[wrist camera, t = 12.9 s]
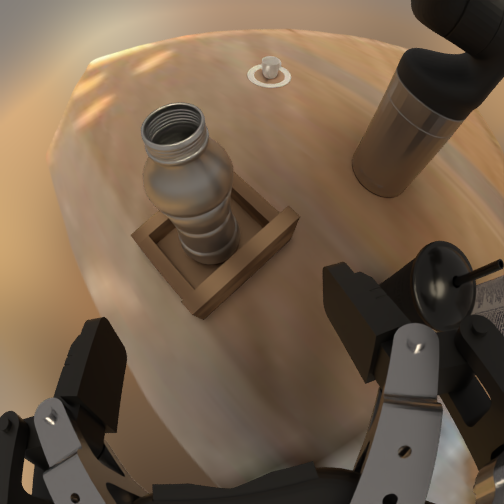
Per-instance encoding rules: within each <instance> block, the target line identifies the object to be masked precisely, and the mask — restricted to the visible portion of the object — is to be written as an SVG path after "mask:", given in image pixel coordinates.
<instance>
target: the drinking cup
mask: <svg viewBox="0 0 504 504" xmlns="http://www.w3.org/2000/svg"><path fill="white" fill-rule="evenodd" d="M503 267H504V264H503V261H502V260H501V259H499V260H497V261H494V262H492V263H490V264H488V265H485V266H483V267H481V268H478V269H476V270H474V271H473V269H472V267H471V265H470V263H469V261H468V259H467V257H466V256H465V255H464V253H463V252H462V251H461V250H460V249H459V248H457V247H456V246H455V245H453V244H451V243H449V242H445V241H435V242H432V243H430V244H428V245H426V246H425V247H424V248H422V249H421V250H420V252H419V253H418V254H417V256H416V258H414V259H413V260H412V261H411V262H409V263H408V264H407V265H405V266H404V267H403V268H402V269H400V270H399V271H398V272H396V273H395V274H394V275H392V276H391V277H390V278H388V279H387V280H385V281H384V282H383V283H381V284H380V285H379V286H380V288H381V289H383V290H384V291H385V293H386V294H387V296H389V297H390V298H391V299H392V300H393V302H394V303H395V304H396V305H397V306H398V307H399V309H400V310H401V311H402V312H403V313H404V314H405V316H406V317H407V318H408V319H409V320H410V321H411V323H419V324H423V325H426V326H428V327H430V328H431V329H434V330H436V331H440V332H444V331H450V330H456V329H458V328H459V326H460V323H461V321H462V319H463V318H464V317H466V316H468V315H471V314H472V311H473V309H474V305H475V301H476V281H475V280H476V279H478V278H481V277H483V276H486V275H489V274H491V273H494V272H496V271H499V270H501V269H503Z"/></svg>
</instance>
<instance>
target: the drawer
mask: <svg viewBox="0 0 504 504" xmlns="http://www.w3.org/2000/svg"><path fill="white" fill-rule="evenodd" d="M230 207H231V211H232V214H233V215H234V217H235V219H236V221H237V223H238V225H239V228H240V241H239V244H238V246H237V249H236V251H235V252H234V254H233V255H232V256H231V257H230V258H228V259H227V260H225V261H224V262H221V263H218V264H211V265H208V264H202V263H200V262H197V261H195V260H194V259H192V258H190V257H189V256H188V255H187V254H186V253H185V251H184V250H183V248H182V246H181V243H180V240H179V235H178V231H177V228H176V227H175V225H174V224H173V223H172V222H171V220H170V219H169V218H168V217H167V216H166V215H164V214H163V213H162V212H161V211H160V210H159V211H158V212H157V213H155V214H154V215H153V216H152V217H151V218H150V219H148V220H147V221H146V222H145V223H144V224H143V225H141V226H140V227H139V228H138V229H137V230H136V231H135V232H134V233H132V234H131V236H132V238H133V239H134V240H135V242H136V243H137V244H138V246H139V247H140V248H141V249H142V251H143V252H144V253H145V255H146V256H147V257H148V258H149V260H150V261H151V262H152V263H153V265H154V266H155V267H156V268H157V270H158V271H159V272H160V273H161V274H162V276H163V277H164V278H165V279H166V281H167V282H168V283H169V284H170V285H171V287H172V288H173V289H174V290H175V291H176V292H177V294H178V295H179V296H180V297H181V298H182V299H183V300H182V301H181V302H182V303H183V304H184V306H185V307H186V308H187V309H188V310H189V311H190V312H191V314H192V315H194V316H196V317H199V318H201V319H203V320H204V319H205V318H206V317H207V316H208V315H209V314H210V313H211V312H213V311H214V310H215V309H216V308H217V307H218V306H219V305H220V304H221V303H222V302H223V301H225V300H226V299H227V298H228V297H229V296H230V295H231V294H232V293H233V292H234V291H235V290H237V289H238V288H239V287H240V286H241V285H242V284H243V283H244V282H245V281H246V280H247V279H248V278H250V277H251V276H252V275H253V274H254V273H255V272H256V271H257V270H258V269H259V268H260V267H261V266H262V265H264V264H265V263H266V262H267V261H268V260H269V259H270V258H271V257H272V256H273V255H274V254H275V253H276V252H277V251H279V250H280V249H281V248H282V247H283V246H284V245H285V244H286V243H287V242H288V241H289V240H290V239H291V237H292V235H293V232H294V230H295V227H296V225H297V223H298V220H299V218H300V216H299V215H298V214H297V213H296V212H295V211H294V210H293V209H292V208H290V207H289V206H288V207H286V208H285V209H284V210H283V211H282V212H281V213H279V212H278V211H277V210H276V209H275V208H274V207H273V206H271V205H270V204H269V203H268V202H267V201H266V200H265V199H264V198H263V197H262V196H261V195H259V194H258V193H257V192H256V191H255V190H254V189H253V188H252V187H251V186H249V185H248V184H247V183H246V182H245V181H244V180H243V179H242V178H240V177H239V176H238V175H237V174H236V173H235V172H234V171H233V184H232V190H231V196H230Z"/></svg>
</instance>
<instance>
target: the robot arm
mask: <svg viewBox="0 0 504 504" xmlns="http://www.w3.org/2000/svg"><path fill="white" fill-rule="evenodd" d="M411 7H412V11H413V13H414V15H415V17H416V18H417V19H418V20H419V21H420V22H421V23H422V24H424V25H425V26H426V27H428V28H429V29H431V30H432V31H434V32H435V33H437V34H439V35H440V36H442V37H444V38H445V39H447V40H448V41H450V42H452V43H453V44H455V45H456V46H458V47H459V48H461V49H462V50H464V51H465V53H463V54H444V53H440V52H435V51H431V50H427V49H422V48H412V49H409V50H407V51H406V52H405V53H404V54H403V56H402V58H401V60H400V62H399V64H398V66H397V69H396V71H395V73H394V75H393V77H392V79H391V81H390V83H389V86H388V88H387V90H386V92H385V94H384V96H383V98H382V100H381V102H380V104H379V107H378V109H377V111H376V113H375V115H374V117H373V119H372V121H371V123H370V125H369V127H368V129H367V131H366V132H365V134H364V136H363V138H362V140H361V142H360V144H359V146H358V148H357V150H356V152H355V154H354V155H353V159H352V166H353V170H354V173H355V175H356V177H357V178H358V180H359V181H360V182H361V183H362V185H363V186H364V187H366V188H367V189H368V190H369V191H371V192H373V193H374V194H376V195H379V196H382V197H395V196H398V195H399V194H401V193H402V192H403V191H404V190H405V189H406V188H407V186H408V185H409V184H410V183H411V182H412V181H413V180H414V179H415V178H416V177H417V176H418V174H419V173H420V172H421V171H422V170H423V169H424V168H425V167H426V165H427V164H428V163H429V162H430V161H431V160H432V159H433V158H434V156H435V155H436V154H437V153H438V152H439V151H440V149H441V148H442V147H443V146H444V145H445V143H446V142H447V141H448V140H449V139H450V137H451V136H452V135H453V134H454V132H455V131H456V130H457V129H458V128H459V126H460V125H461V124H462V123H463V121H464V120H465V119H466V118H467V116H468V115H469V114H470V113H471V112H472V111H473V110H474V109H476V108H477V107H478V106H480V105H481V104H482V102H483V101H484V100H485V99H486V98H487V96H488V95H489V94H490V93H491V91H492V90H493V89H494V88H495V87H496V85H497V84H498V83H499V82H500V81H501V80H502V78H503V77H504V0H411ZM323 303H324V308H325V312H326V314H327V317H328V318H329V320H330V322H331V324H332V325H333V327H334V329H335V330H336V332H337V334H338V336H339V337H340V339H341V341H342V343H343V344H344V346H345V348H346V350H347V351H348V353H349V355H350V357H351V359H352V360H353V362H354V364H355V366H356V368H357V369H358V371H359V373H360V375H361V377H362V378H363V380H364V382H365V384H366V383H369V382H371V381H374V380H376V381H377V383H378V384H379V386H380V387H379V390H378V393H377V398H376V401H375V405H374V409H373V413H372V416H371V420H370V423H369V427H368V430H367V433H366V436H365V439H364V442H363V445H362V447H361V450H360V452H359V455H358V458H357V460H356V463H355V466H354V469H353V471H352V470H347V469H342V468H329V467H322V468H315V466H314V463H313V461H312V462H308V463H305V464H301V465H298V466H294V467H290V468H286V469H282V470H278V471H274V472H271V473H268V474H266V475H264V476H262V477H260V478H257V479H255V480H253V481H250V482H248V483H245V484H243V485H240V486H238V487H235V488H231V489H225V488H216V487H208V486H201V485H194V484H165V485H164V484H163V485H161V484H160V485H158V484H155V485H154V484H153V493H150V494H149V493H148V492H147V491H146V490H145V489H144V488H143V487H141V486H140V485H139V484H138V483H137V482H135V481H134V479H133V478H132V477H131V476H130V475H129V473H128V472H127V471H126V469H125V468H124V466H123V465H122V463H121V462H120V461H119V459H118V458H117V456H116V455H115V453H114V452H113V450H112V449H111V447H110V445H109V444H108V442H107V441H106V440H104V435H105V433H117V424H118V416H119V408H120V401H121V393H122V387H123V381H124V374H125V369H126V363H127V354H126V350H125V347H124V345H123V344H122V342H121V340H120V339H119V337H118V336H117V334H116V332H115V331H114V329H113V327H112V326H111V324H110V322H109V321H108V320H107V319H106V318H105V317H101V318H97V319H91V320H87V321H86V322H85V324H84V327H83V329H82V332H81V334H80V335H79V336H78V337H77V338H76V340H75V341H74V342H73V344H72V345H71V347H70V350H69V353H68V355H67V356H68V358H66V361H65V364H64V365H65V366H64V367H63V369H62V372H61V375H60V378H59V381H58V385H57V388H56V391H55V394H54V397H53V398H48V399H46V400H44V401H43V402H42V403H41V404H40V405H39V406H38V408H37V409H36V412H35V415H34V416H33V417H29V418H26V419H22V418H21V417H19V416H18V415H17V414H16V413H15V412H13V411H8V412H6V413H4V414H3V415H2V416H1V417H0V504H435V503H432V502H429V501H426V497H427V494H428V490H429V486H430V482H431V478H432V474H433V470H434V465H435V460H436V455H437V450H438V444H439V438H440V431H441V423H442V414H443V408H442V404H441V403H438V402H437V395H440V397H441V399H442V401H443V402H444V404H445V406H446V408H447V409H448V411H449V413H450V415H451V417H452V418H453V420H454V422H455V424H456V426H457V428H458V430H459V431H460V433H461V435H462V437H463V439H464V441H465V443H466V445H467V447H468V449H469V451H470V453H471V455H472V457H473V459H474V461H475V463H476V466H477V468H478V470H479V473H478V474H477V477H476V480H475V484H474V486H473V493H474V494H475V495H476V503H475V504H504V336H503V334H502V333H501V332H500V331H499V330H498V329H497V327H496V326H495V325H494V324H493V323H492V322H491V321H490V320H489V319H488V318H486V317H484V316H482V315H477V314H472V315H468V316H466V317H464V318H463V319H462V321H461V323H460V326H459V328H458V329H456V330H450V331H444V332H437V333H435V332H434V331H433V330H432V329H431V328H430V327H428V326H426V325H423V324H419V323H411V321H410V320H409V319H408V318H407V317H406V316H405V314H404V313H403V312H402V311H401V310H400V309H399V307H398V306H397V305H396V304H395V303H394V302H393V300H392V299H391V298H390V297H389V296H387V294H386V293H385V291H384V290H383V289H381V288H380V286H379V285H378V284H377V282H376V281H375V280H374V279H373V278H372V277H370V276H368V275H366V274H364V273H362V272H357V273H354V272H353V271H352V270H351V269H350V267H349V266H348V265H347V264H346V263H345V262H340V263H337V264H333V265H329V266H326V267H324V268H323ZM475 375H476V376H477V377H478V378H479V380H480V381H481V383H482V384H483V386H484V387H485V389H486V391H487V392H488V394H489V395H490V398H491V400H490V398H489V397H488V395H487V394H486V392H485V390H484V389H483V387H482V386H481V384H480V383H479V381H478V380H477V378H476V377H475ZM24 458H25V459H27V460H28V461H30V462H31V463H33V464H34V465H35V468H34V477H33V488H32V495H30V494H28V493H27V492H26V491H25V490H24V488H23V486H22V472H23V464H24Z"/></svg>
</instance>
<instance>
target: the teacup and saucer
mask: <svg viewBox="0 0 504 504" xmlns="http://www.w3.org/2000/svg"><path fill="white" fill-rule="evenodd" d="M261 68H262V71H263V75H264V77H265V78H268V79H273V78H275V77H276V76H277V73H278V70H280V71H282V72H283V73H284V75H285V79H284V80H283V81H282V82H280V83H277V84H265V83H262V82H259V81H258V80H256V79H255V77H254V73H255V71H257V70H258V69H261ZM247 76H248V79H249V80H250V81H251V82H252V83H254V84H256V85H258V86H262V87H267V88H277V87H282V86H284V85H286V84H288V83H289V82H290V80H291V74H290V73H289V72H288V71H287V70H286V69H285V68H283V67H281V61H280V60H279V59H278V58H276V57H273V56H267V57H264V58H263V59H262V64H261V65H257V66H254V67H252V68H251V69H250V70H249V71H248V74H247Z"/></svg>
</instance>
